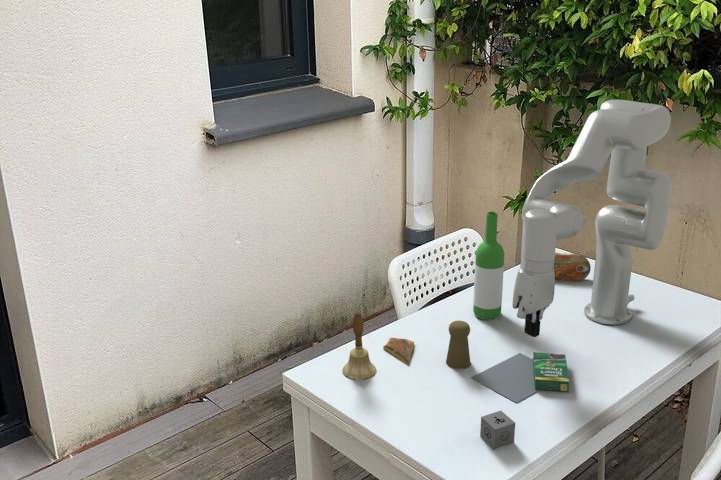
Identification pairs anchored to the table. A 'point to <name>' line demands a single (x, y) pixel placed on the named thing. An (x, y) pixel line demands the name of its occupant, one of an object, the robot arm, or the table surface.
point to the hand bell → (358, 355)
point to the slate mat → (510, 378)
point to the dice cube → (497, 429)
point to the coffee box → (550, 371)
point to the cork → (458, 345)
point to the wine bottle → (489, 273)
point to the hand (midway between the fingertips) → (531, 334)
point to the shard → (400, 348)
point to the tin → (571, 267)
